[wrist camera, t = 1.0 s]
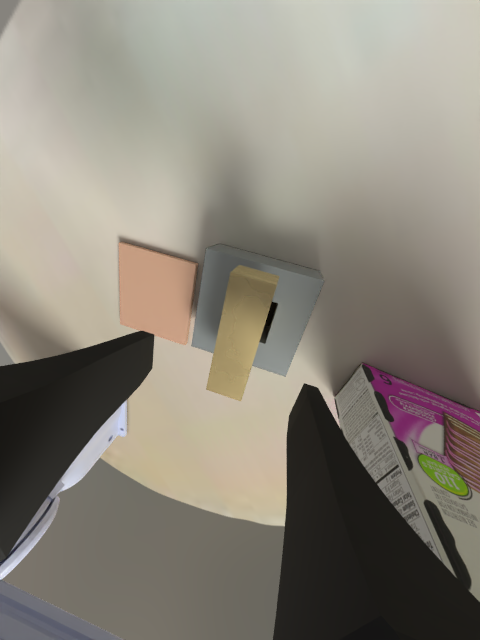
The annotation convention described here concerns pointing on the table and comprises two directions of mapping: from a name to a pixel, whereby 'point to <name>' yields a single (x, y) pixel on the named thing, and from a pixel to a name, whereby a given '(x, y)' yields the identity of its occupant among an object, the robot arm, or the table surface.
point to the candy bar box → (420, 461)
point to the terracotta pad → (156, 292)
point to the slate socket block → (290, 295)
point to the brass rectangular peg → (240, 329)
